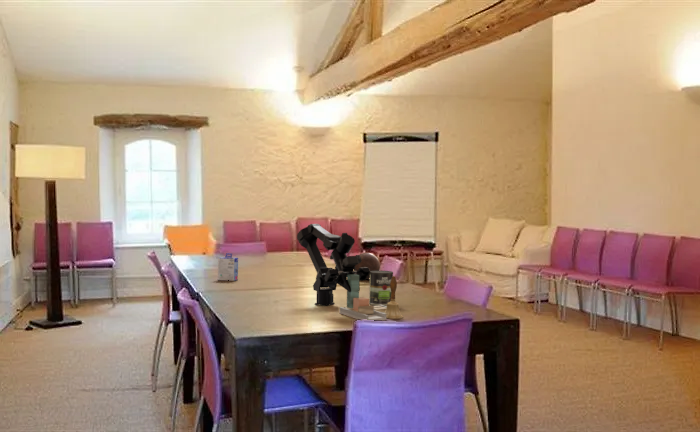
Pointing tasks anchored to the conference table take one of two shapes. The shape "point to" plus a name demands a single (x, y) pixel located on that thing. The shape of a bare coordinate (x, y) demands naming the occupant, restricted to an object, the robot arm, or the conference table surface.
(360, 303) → the cube
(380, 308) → the broken slat
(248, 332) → the conference table surface
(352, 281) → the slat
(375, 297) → the coffee can
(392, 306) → the wooden handled brush
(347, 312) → the lane board
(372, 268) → the wooden sphere
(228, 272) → the ink cartridge box
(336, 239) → the robot arm
